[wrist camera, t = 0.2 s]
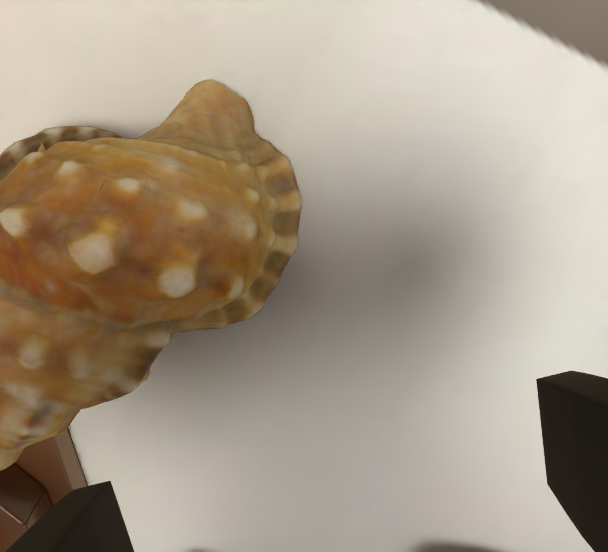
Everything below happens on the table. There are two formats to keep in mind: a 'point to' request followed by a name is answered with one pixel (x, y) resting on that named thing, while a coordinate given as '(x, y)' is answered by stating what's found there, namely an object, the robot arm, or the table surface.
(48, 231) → the seashell
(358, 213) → the table surface
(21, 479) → the control block
